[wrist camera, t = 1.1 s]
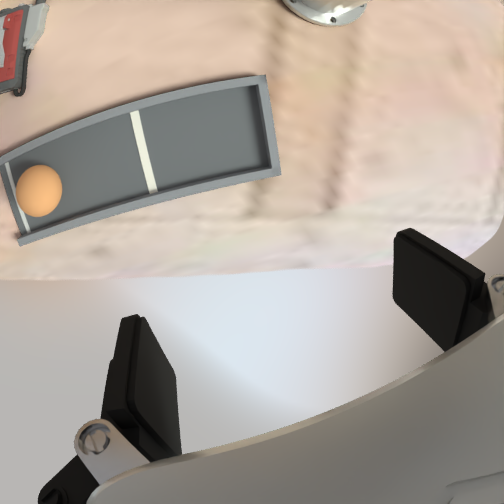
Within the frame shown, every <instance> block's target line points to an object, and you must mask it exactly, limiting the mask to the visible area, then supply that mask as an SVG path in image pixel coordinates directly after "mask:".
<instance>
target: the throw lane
mask: <svg viewBox="0 0 504 504" xmlns="http://www.w3.org/2000/svg"><path fill="white" fill-rule="evenodd" d="M35 165H46V166H49V167H51V168H52V169H54V170H55V171H56V172H57V174H58V175H59V177H60V179H61V183H62V195H61V199H60V201H59V203H58V205H57V207H56V208H55V209H54V210H53V211H52V212H50V213H49V214H47V215H45V216H42V217H33V216H30V215H28V214H26V213H25V212H23V211H22V209H21V208H20V207H19V205H18V203H17V199H16V186H17V183H18V180H19V178H20V177H21V175H22V174H23V173H24V172H25V171H26V170H27V169H29V168H30V167H32V166H35ZM0 172H1V176H2V179H3V183H4V186H5V189H6V192H7V196H8V199H9V202H10V205H11V208H12V211H13V213H14V216H15V219H16V222H17V224H18V227H19V230H20V232H21V235H22V236H21V237H19V238H18V239H17V241H18V243H19V246H23V245H25V244H28V243H31V242H34V241H37V240H40V239H42V238H45V237H48V236H51V235H54V234H57V233H60V232H63V231H66V230H69V229H72V228H75V227H78V226H82V225H85V224H88V223H91V222H94V221H98V220H101V219H104V218H108V217H111V216H114V215H118V214H121V213H125V212H128V211H132V210H135V209H139V208H143V207H146V206H150V205H154V204H157V203H161V202H165V201H169V200H173V199H177V198H181V197H185V196H189V195H193V194H197V193H201V192H205V191H209V190H214V189H218V188H222V187H227V186H231V185H236V184H240V183H245V182H250V181H254V180H259V179H264V178H269V177H274V176H279V175H281V168H280V161H279V154H278V147H277V141H276V134H275V128H274V121H273V115H272V109H271V103H270V97H269V91H268V85H267V80H266V75H259V76H251V77H244V78H238V79H231V80H225V81H219V82H214V83H208V84H203V85H198V86H194V87H189V88H184V89H180V90H176V91H172V92H168V93H164V94H160V95H156V96H152V97H148V98H145V99H141V100H138V101H135V102H131V103H128V104H125V105H121V106H118V107H115V108H112V109H109V110H106V111H103V112H100V113H98V114H95V115H92V116H89V117H87V118H84V119H81V120H79V121H76V122H74V123H71V124H69V125H66V126H64V127H61V128H59V129H57V130H54V131H52V132H50V133H47V134H45V135H43V136H41V137H39V138H37V139H34V140H32V141H30V142H28V143H26V144H24V145H22V146H20V147H18V148H16V149H14V150H12V151H10V152H8V153H6V154H5V155H3V156H1V157H0Z"/></svg>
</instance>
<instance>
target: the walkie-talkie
mask: <svg viewBox="0 0 504 504" xmlns="http://www.w3.org/2000/svg"><path fill="white" fill-rule="evenodd" d="M45 1H46V0H37V1H36V5H34V6H33V4H29V5H25V4H20V5H19V7H16V8H13V9H10V8H7V9H3V10H1V11H0V94H3V93H6V92H9V91H13V90H14V95H15V96H22V95H23V94H24V92H25V89H26V79H27V77H26V76H27V66H28V65H27V64H28V57H29V55H30V53H31V50H33V49H34V46H35V44H36V43H37V41H38V40H39V39H40V37H41V36H42V34H43V33H44V28H45V22H46V16H47V12H48V11H49V6H48V5H47V4H46V3H45ZM20 88H22V89H21V92H20V93H18V89H20Z"/></svg>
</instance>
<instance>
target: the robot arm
mask: <svg viewBox="0 0 504 504" xmlns="http://www.w3.org/2000/svg"><path fill="white" fill-rule="evenodd" d="M282 1H283V2H284V3H285V4H286V5H287V6H288V7H289V9H290V10H292V11H293V12H294V13H296V14H297V15H298V16H300V17H302V18H303V19H305V20H307V21H309V22H312V23H314V24H317V25H322V26H328V27H337V26H343V25H347V24H349V23H351V22H354V21H355V20H357V19H358V18H359V17H360V16H361V15H362V14H363V13H364V11H365V9H366V6H367V2H370V1H372V0H282ZM290 1H292V2H293V3H291V2H290ZM500 2H501V3H502V4H503V6H504V0H500ZM330 20H331V21H332V22H331V21H330ZM484 277H485V273H483V272H482V271H481V270H479V269H478V268H476V267H475V266H473V265H472V264H470V263H469V262H467V261H465V260H464V259H462V258H461V257H459V256H458V255H456V254H454V253H453V252H451V251H450V250H448V249H446V248H445V247H443V246H441V245H440V244H438V243H436V242H435V241H433V240H431V239H430V238H428V237H426V236H425V235H423V234H421V233H419V232H418V231H416V230H414V229H412V228H408V229H405V230H402V231H399V232H398V233H397V234H396V237H395V238H394V265H393V299H394V301H395V303H396V304H397V305H398V306H399V307H400V308H401V309H402V310H403V311H404V312H405V313H406V314H408V316H409V317H410V318H412V319H413V320H414V321H415V322H416V323H417V324H418V325H419V326H420V327H421V328H422V329H423V330H424V331H425V332H426V333H427V334H428V335H429V336H430V337H431V338H432V339H433V340H434V341H435V342H436V343H437V344H438V345H439V346H440V347H441V348H442V349H443V351H444V353H443V354H441V355H439V356H438V357H436V358H434V359H433V360H431V361H429V362H428V363H426V364H424V365H422V366H421V367H419V368H417V369H415V370H413V371H412V372H410V373H408V374H406V375H404V376H402V377H400V378H399V379H397V380H395V381H393V382H391V383H389V384H387V385H385V386H383V387H381V388H379V389H377V390H375V391H372V392H370V393H368V394H366V395H364V396H362V397H359V398H357V399H355V400H353V401H351V402H348V403H346V404H344V405H341V406H339V407H336V408H334V409H332V410H329V411H327V412H324V413H322V414H319V415H316V416H314V417H311V418H309V419H306V420H303V421H301V422H298V423H295V424H292V425H289V426H286V427H283V428H280V429H277V430H274V431H271V432H268V433H264V434H261V435H258V436H255V437H251V438H248V439H244V440H240V441H237V442H233V443H230V444H225V445H222V446H218V447H214V448H210V449H205V450H201V451H197V452H192V453H187V454H183V455H182V450H181V439H180V428H179V417H178V403H177V388H176V376H175V373H174V370H173V368H172V366H171V365H170V363H169V361H168V359H167V358H166V356H165V354H164V352H163V350H162V349H161V347H160V345H159V343H158V341H157V339H156V337H155V336H154V334H153V332H152V330H151V328H150V326H149V324H148V322H147V320H146V319H145V317H140V316H139V315H138V314H135V315H132V316H128V317H124V318H122V319H121V323H120V327H119V332H118V337H117V342H116V347H115V352H114V357H113V359H112V360H111V361H110V364H109V369H108V374H107V380H106V386H105V392H104V398H103V405H102V412H101V419H95V420H92V421H89V422H87V423H86V424H84V425H83V426H82V427H81V428H80V429H79V431H78V432H77V434H76V436H75V440H74V448H75V450H76V453H77V455H76V456H75V457H74V458H73V459H72V460H71V461H70V462H69V463H68V464H67V465H66V466H65V467H64V468H63V469H62V470H60V471H59V473H57V474H56V475H55V476H54V477H53V478H52V479H51V480H50V481H49V482H48V483H47V484H46V485H45V486H44V487H43V488H42V489H41V491H40V493H39V496H38V504H504V274H496V275H493V276H491V277H490V278H489V280H488V281H487V283H485V282H484Z"/></svg>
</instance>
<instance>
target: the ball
mask: <svg viewBox="0 0 504 504" xmlns="http://www.w3.org/2000/svg"><path fill="white" fill-rule="evenodd" d="M61 195H62V183H61V179H60V177H59V175H58V174H57V172H56V171H55V170H54V169H52V168H51V167H49V166H46V165H35V166H32V167H30V168H29V169H27V170H26V171H25V172H24V173H23V174H22V175H21V177H20V178H19V180H18V183H17V186H16V199H17V203H18V205H19V207H20V208H21V209H22V211H23V212H25V213H26V214H28V215H30V216H33V217H42V216H45V215H47V214H49V213H50V212H52V211H53V210H54V209H55V208H56V207H57V205H58V203H59V201H60V199H61Z"/></svg>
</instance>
